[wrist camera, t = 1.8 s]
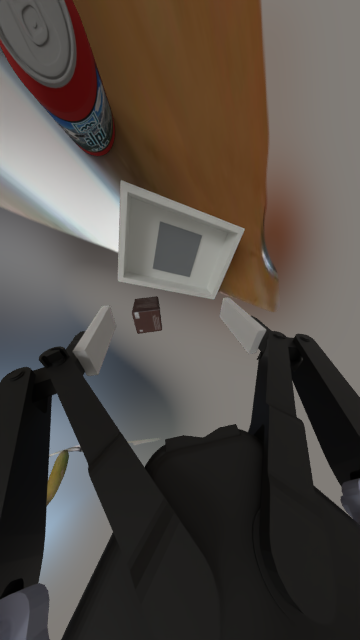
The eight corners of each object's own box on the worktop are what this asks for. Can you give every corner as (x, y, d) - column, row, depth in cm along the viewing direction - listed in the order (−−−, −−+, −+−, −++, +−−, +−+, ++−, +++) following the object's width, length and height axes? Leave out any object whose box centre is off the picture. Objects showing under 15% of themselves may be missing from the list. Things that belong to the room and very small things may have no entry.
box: (160, 315, 39) (162, 331, 33) (139, 317, 38) (137, 334, 32) (158, 295, 36) (159, 309, 30) (134, 298, 35) (131, 312, 29)
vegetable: (61, 448, 75) (36, 509, 58) (74, 447, 78) (54, 506, 61) (58, 452, 77) (34, 512, 61) (71, 451, 80) (51, 509, 63)
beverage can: (90, 168, 22) (40, 118, 12) (48, 99, 18) (-78, -62, 8) (126, 143, 21) (104, 68, 11) (91, 65, 17) (10, -157, 7)
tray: (121, 274, 31) (117, 281, 27) (125, 188, 23) (120, 179, 19) (207, 291, 37) (214, 299, 33) (232, 228, 30) (244, 228, 26)
